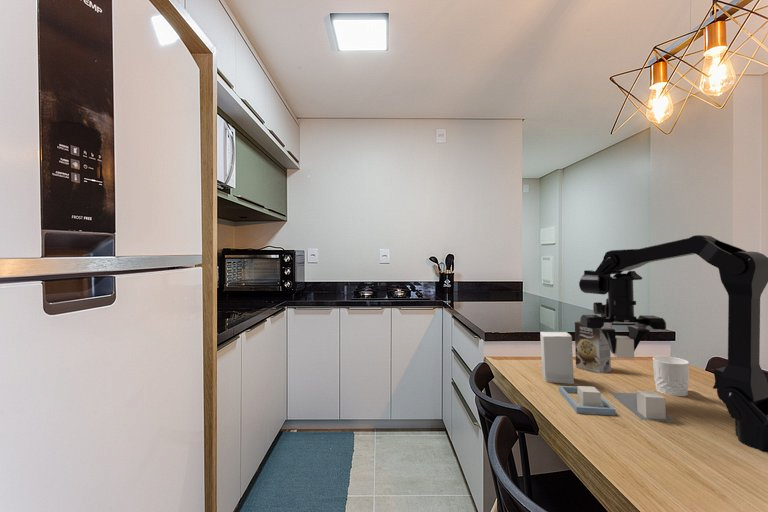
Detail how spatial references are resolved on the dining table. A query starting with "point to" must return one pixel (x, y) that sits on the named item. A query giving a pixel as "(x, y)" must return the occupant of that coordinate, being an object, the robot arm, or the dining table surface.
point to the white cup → (671, 375)
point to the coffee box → (591, 349)
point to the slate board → (634, 405)
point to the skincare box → (557, 357)
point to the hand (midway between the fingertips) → (622, 353)
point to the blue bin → (604, 410)
